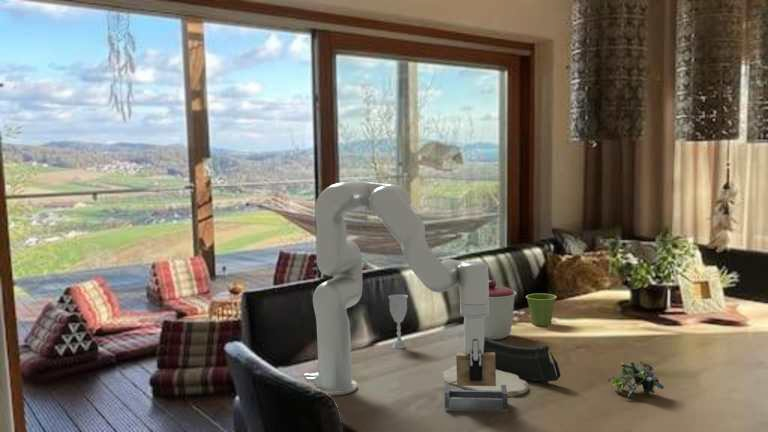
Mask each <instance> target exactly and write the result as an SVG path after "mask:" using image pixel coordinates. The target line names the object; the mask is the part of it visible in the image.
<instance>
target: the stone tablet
mask: <svg viewBox="0 0 768 432" xmlns="http://www.w3.org/2000/svg"><path fill="white" fill-rule="evenodd" d="M442 376H443V381H444V382H445V383H446V384H450V385H451V386H455V387H459V388H461V389H463V390H490V391H501V385H506V389H507V397H510V398H511V397H517V396H519V395H522V394H525V393H526V392H528V391H529V385H528V382H527V380H524V379H519V376H517V375H515V374H512V373H507V372H503V371H499V370H496V386H457V364H455V365H453V366H452V367H450V368H449V369H446V370H445V371H442Z"/></svg>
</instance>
